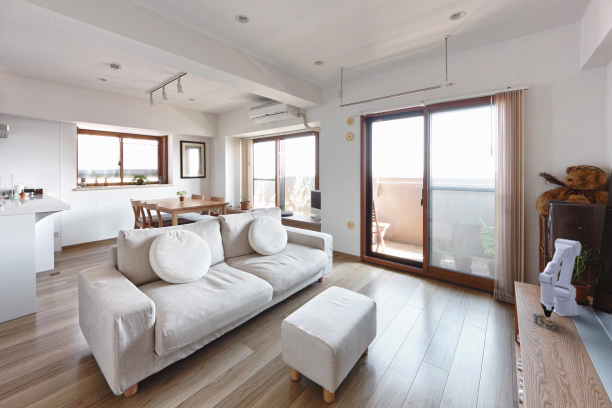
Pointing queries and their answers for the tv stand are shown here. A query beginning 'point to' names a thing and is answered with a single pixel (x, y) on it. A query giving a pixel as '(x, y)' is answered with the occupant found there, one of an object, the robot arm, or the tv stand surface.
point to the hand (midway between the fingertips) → (547, 316)
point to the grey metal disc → (549, 327)
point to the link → (546, 321)
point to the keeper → (537, 316)
